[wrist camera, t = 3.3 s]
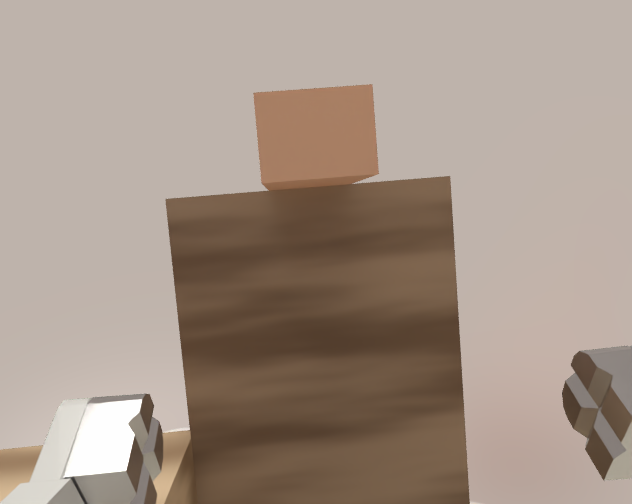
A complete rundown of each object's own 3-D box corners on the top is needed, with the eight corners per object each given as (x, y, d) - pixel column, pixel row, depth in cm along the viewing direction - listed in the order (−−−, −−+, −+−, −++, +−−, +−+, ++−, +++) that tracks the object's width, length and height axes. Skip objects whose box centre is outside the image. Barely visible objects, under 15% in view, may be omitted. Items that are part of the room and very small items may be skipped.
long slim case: (378, 173, 18) (372, 84, 18) (261, 183, 18) (253, 92, 18) (329, 191, 38) (326, 149, 38) (274, 196, 38) (270, 153, 38)
